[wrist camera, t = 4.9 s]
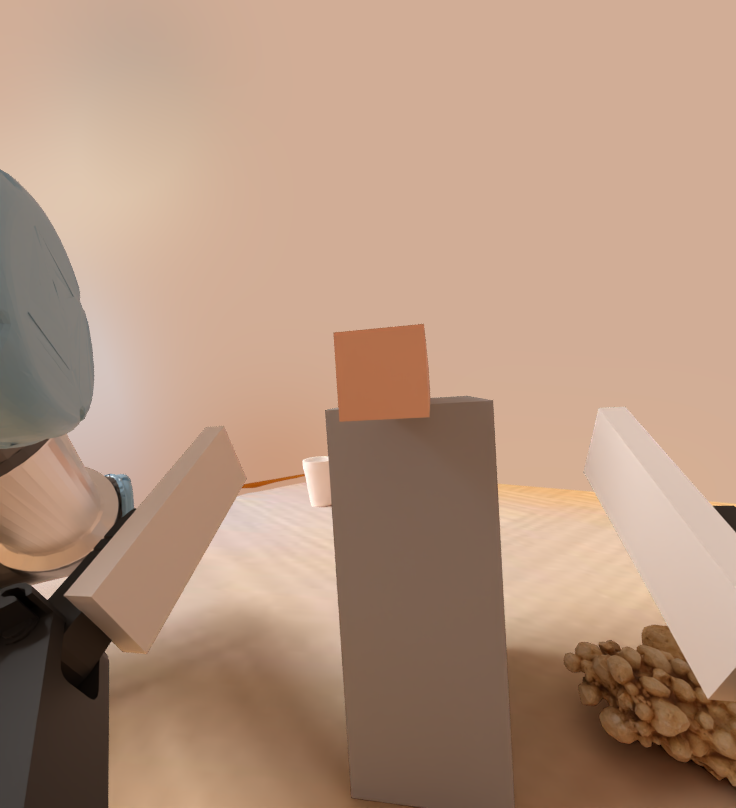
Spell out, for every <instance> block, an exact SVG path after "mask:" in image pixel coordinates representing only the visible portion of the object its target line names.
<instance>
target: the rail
mask: <svg viewBox="0 0 736 808" xmlns="http://www.w3.org/2000/svg"><path fill="white" fill-rule="evenodd" d="M334 346H335V361H336V378H337V391H338V392H337V393H338V408H339V422H344V421H364V420H384V419H403V418H423V417H429V415H430V385H429V368H428V358H427V349H426V339H425V330H424V324H418V325H408V326H398V327H387V328H377V329H368V330H367V329H366V330H356V331H345V332H335V333H334Z"/></svg>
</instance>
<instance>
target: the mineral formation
mask: <svg viewBox="0 0 736 808" xmlns="http://www.w3.org/2000/svg"><path fill="white" fill-rule="evenodd" d="M642 643H643V645H639V646H638V647H637V651H636V650H634V649H632V648H630V647H625V648H622V649H620V646H619V645H618V644H617V643H615V642H614V641H612V640H608V641H606V642H599V647H600V649H599V647H598V646H597V645H594V644H591V643H588V642H580V643H579V644H578V645H577V647H576V649H575V654H573V653H567V654H565V658H564V665H565V666H566V668H567V669H568V670H569V671H571V672H580V671H582V672H584V673H585V674H586V675H585V677H583V682H582V684H580V685H579V686H578V690H579V694H580V699H581V703H582V704H584V705H589V706H596V705H597V704H598V703H599V702H600V701H601V700H602V699H603V698H604V699H605V700H607V702H608V704H609V706H608V707H606V708H603V710H602V711H601V712H600V714H599V717H600V721H601V724H602V727H603V728H604V729H605V731H606V732H607V733H608V734H609V735H610V736H612V737H613V738H615V739H616V740H618V741H619V742H622V743H627V744H630V743H632V742H634V741H636V740H639V742H640V743H641V744H642V745H643V746H644V747H651V744H652V742H654V743H656V744H658V745H660V744H661V746H662V747H663V748H664V749H665V751H666V752H667V753H668V754H669V755H670V756H671V757H673V758H674V759H676V760H677V761H681V762H685V763H686V762H687V761H689V760H690V759H691V760H693V761H694V762H695V763H697V764H698V765H700V766H704V767H705V769H706V770H707V771H708V772H710V773H711V774H712V775H713V776H714V777H715V778H717V779H718V780H719V781H720V780H721V779H723V778H724V777H726V778H728V780H729V781H730V783H731V784H732V786H736V702H733V701H720V700H708V699H707V697H706V695H705V693H704V691H703V690H702V688H701V686H700V684H699V682H698V680H697V679H696V677H695V675H694V673H693V671H692V669H691V668H690V666H689V664H688V662H687V660H686V659H685V657H684V655H683V653H682V651H681V649H680V648H679V646H678V644H677V642H676V640H675V638H674V637H673V635H672V633H671V631H670V629H669V627H668V626H659V625H651V626H647V627H644V629H643V632H642Z"/></svg>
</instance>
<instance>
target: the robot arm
mask: <svg viewBox="0 0 736 808" xmlns="http://www.w3.org/2000/svg"><path fill="white" fill-rule="evenodd" d="M93 386H94V363H93V352H92V344H91V337H90V331H89V326H88V321H87V318H86V314H85V311H84V310H83V308H82V305H81V303H80V291H79V286H78V283H77V280H76V277H75V274H74V271H73V269H72V266H71V263H70V261H69V258H68V256H67V254H66V251H65V249H64V247H63V245H62V243H61V240H60V238H59V237H58V235H57V233H56V231H55V229H54V227H53V225H52V224H51V222H50V220H49V219H48V217H47V216H46V214H45V213H44V211H43V210H42V208H41V207H40V206H39V204H38V203H37V202H36V201H35V199H34V198H33V197H32V196H31V195H30V194H29V193H28V192H27V191H26V190H25V189H24V188H23V187H22V186H21V185H20V184H19V183H18V182H17V181H16V180H15V179H14V178H13V177H11V176H10V175H9V174H7V173H5V172H4V171H2V170H0V808H108V750H109V659H108V656H107V654H106V653H105V650H106V649H107V647H108V646H109V644H110V643H111V641H112V642H113V643H114V644H115V645H116V646H117V647H118V648H119V649H120V650H121V651H122V652H131V653H143V654H147V653H148V651H149V650H150V648H151V646H152V644H153V643H154V641H155V639H156V637H157V636H158V634H159V632H160V630H161V629H162V627H163V625H164V623H165V622H166V620H167V618H168V616H169V615H170V613H171V611H172V609H173V607H174V606H175V604H176V602H177V600H178V599H179V597H180V595H181V593H182V592H183V590H184V588H185V586H186V585H187V583H188V581H189V579H190V578H191V576H192V574H193V572H194V571H195V569H196V567H197V565H198V564H199V562H200V560H201V558H202V557H203V555H204V553H205V551H206V550H207V548H208V546H209V544H210V543H211V541H212V539H213V537H214V536H215V534H216V532H217V530H218V528H219V527H220V525H221V523H222V521H223V520H224V518H225V516H226V514H227V513H228V511H229V509H230V507H231V506H232V504H233V502H234V500H235V499H236V497H237V495H238V493H239V492H240V490H241V488H242V486H243V485H244V483H245V481H246V479H247V478H246V476H245V473H244V471H243V469H242V466H241V464H240V462H239V459H238V457H237V455H236V453H235V450H234V448H233V446H232V444H231V441H230V439H229V437H228V434H227V432H226V430H225V428H224V426H219V427H206V428H205V429H204V430H203V432H202V433H201V434H200V435H199V436H198V437H197V438H196V440H195V441H194V442H193V443H192V445H191V446H190V447H189V448H188V449H187V450H186V451H185V453H184V454H183V455H182V456H181V457H180V458H179V460H178V461H177V462H176V463H175V464H174V466H173V467H172V468H171V469H170V470H169V472H168V473H167V474H166V475H165V476H164V477H163V479H162V480H161V481H160V482H159V483H158V484H157V486H156V487H155V488H154V489H153V490H152V492H151V493H150V494H149V495H148V496H147V497H146V499H145V500H144V501H143V502H142V503H141V504H140V506H139V507H138V508H137V509H134V500H133V491H132V490H133V489H132V485H131V480H130V478H129V477H128V476H127V475H124V474H119V475H115V474H108V475H105V476H103V475H102V474H101V473H99V472H97V471H95V470H93V469H90V468H87V467H84V465H83V463H82V461H81V459H80V457H79V456H78V454H77V452H76V450H75V448H74V447H73V445H72V443H71V441H70V439H69V438H68V436H67V433H68V432H70V431H72V430H73V429H74V428H75V427H76V426H77V425H78V424H79V423H80V421H82V420H83V419H85V417H86V414H87V412H88V410H89V408H90V404H91V401H92V396H93ZM584 474H585V476H586V477H587V479H588V481H589V483H590V485H591V487H592V489H593V490H594V492H595V494H596V496H597V498H598V500H599V501H600V503H601V505H602V507H603V509H604V510H605V512H606V514H607V516H608V518H609V520H610V521H611V523H612V525H613V527H614V529H615V531H616V532H617V534H618V536H619V538H620V540H621V542H622V543H623V545H624V547H625V549H626V551H627V553H628V554H629V556H630V558H631V560H632V562H633V563H634V565H635V567H636V569H637V571H638V573H639V574H640V576H641V578H642V580H643V582H644V584H645V585H646V587H647V589H648V591H649V593H650V595H651V596H652V598H653V600H654V602H655V604H656V606H657V607H658V609H659V611H660V613H661V615H662V616H663V618H664V620H665V622H666V624H667V626H668V627H669V629H670V631H671V633H672V635H673V637H674V638H675V640H676V642H677V644H678V646H679V648H680V649H681V651H682V653H683V655H684V657H685V659H686V660H687V662H688V664H689V666H690V668H691V669H692V671H693V673H694V675H695V677H696V679H697V680H698V682H699V684H700V686H701V688H702V690H703V691H704V693H705V695H706V697H707V699H708V700H720V701H733V702H736V507H735V506H712V505H711V504H710V503H709V501H708V500H707V499H706V498H705V497H704V496H703V495H702V494H701V492H700V491H699V490H698V489H697V488H696V487H695V486H694V484H692V482H691V481H690V480H689V479H688V478H687V476H686V475H685V474H684V473H683V472H682V471H681V470H680V469H679V467H678V466H677V465H676V464H675V463H674V462H673V461H672V459H671V458H670V457H669V456H668V455H667V454H666V453H665V451H664V450H663V449H662V448H661V447H660V446H659V445H658V444H657V443H656V441H655V440H654V439H653V438H652V437H651V436H650V434H649V433H648V432H647V431H646V430H645V429H644V428H643V427H642V425H641V424H640V423H639V422H638V421H637V420H636V419H635V417H634V416H633V415H632V414H631V413H630V412H629V411H628V409H627V408H626V407H613V408H599V409H598V413H597V417H596V421H595V425H594V430H593V434H592V438H591V443H590V447H589V451H588V455H587V460H586V465H585V468H584ZM67 576H69V577H68V578H67V579H66V580H65V581H64V582H63V584H62V585H61V586H60V587H59V588H58V589H57V590H56V592H55V593H54V594H53V595H52V596H51V597H50V598H49V599H48V600H47V599H45V598H44V597H43V596H42V595H41V594H40V593H39V592H38V591H37V590H36V589H34V588H33V587H32V586H31V585H34V584H38V583H42V582H46V581H51V580H55V579H59V578H63V577H67Z"/></svg>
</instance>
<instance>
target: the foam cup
mask: <svg viewBox="0 0 736 808" xmlns="http://www.w3.org/2000/svg"><path fill="white" fill-rule="evenodd" d="M303 470H304V472H305V477H306V482H307V487H308V492H309V497H310V502H311V506H313V507H325V506H329V505H331V504H332V503H331V488H330V473H329V459H328V456H320V457H311V458H307V459H304V460H303Z"/></svg>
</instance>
